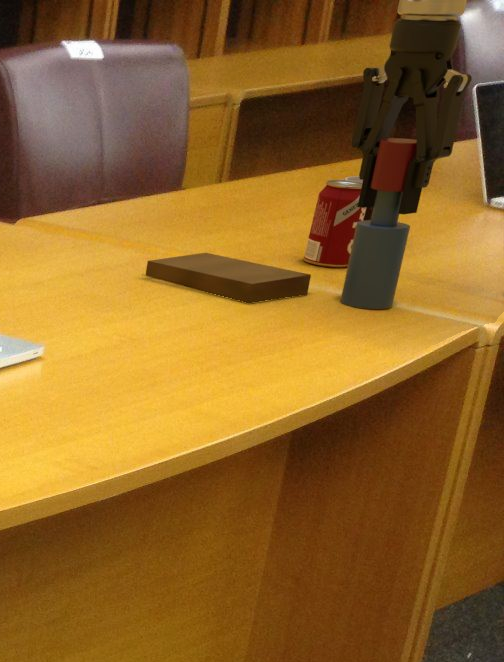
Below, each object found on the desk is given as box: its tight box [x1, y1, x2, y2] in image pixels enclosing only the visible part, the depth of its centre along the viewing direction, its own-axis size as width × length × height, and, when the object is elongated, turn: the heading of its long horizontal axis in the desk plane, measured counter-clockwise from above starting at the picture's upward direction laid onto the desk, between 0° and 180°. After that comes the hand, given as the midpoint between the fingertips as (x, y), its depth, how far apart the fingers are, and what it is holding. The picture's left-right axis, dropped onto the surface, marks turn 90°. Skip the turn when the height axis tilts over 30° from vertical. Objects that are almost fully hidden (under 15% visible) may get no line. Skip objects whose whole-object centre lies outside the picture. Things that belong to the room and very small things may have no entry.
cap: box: [371, 137, 417, 192], centre depth 198 cm, size 5×5×6 cm
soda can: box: [303, 179, 367, 269], centre depth 226 cm, size 7×7×12 cm
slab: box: [145, 252, 312, 304], centre depth 214 cm, size 18×12×3 cm, turn 30°
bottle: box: [339, 190, 411, 310], centre depth 203 cm, size 6×6×15 cm
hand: (386, 209), depth 201 cm, fingers open, 5 cm apart
